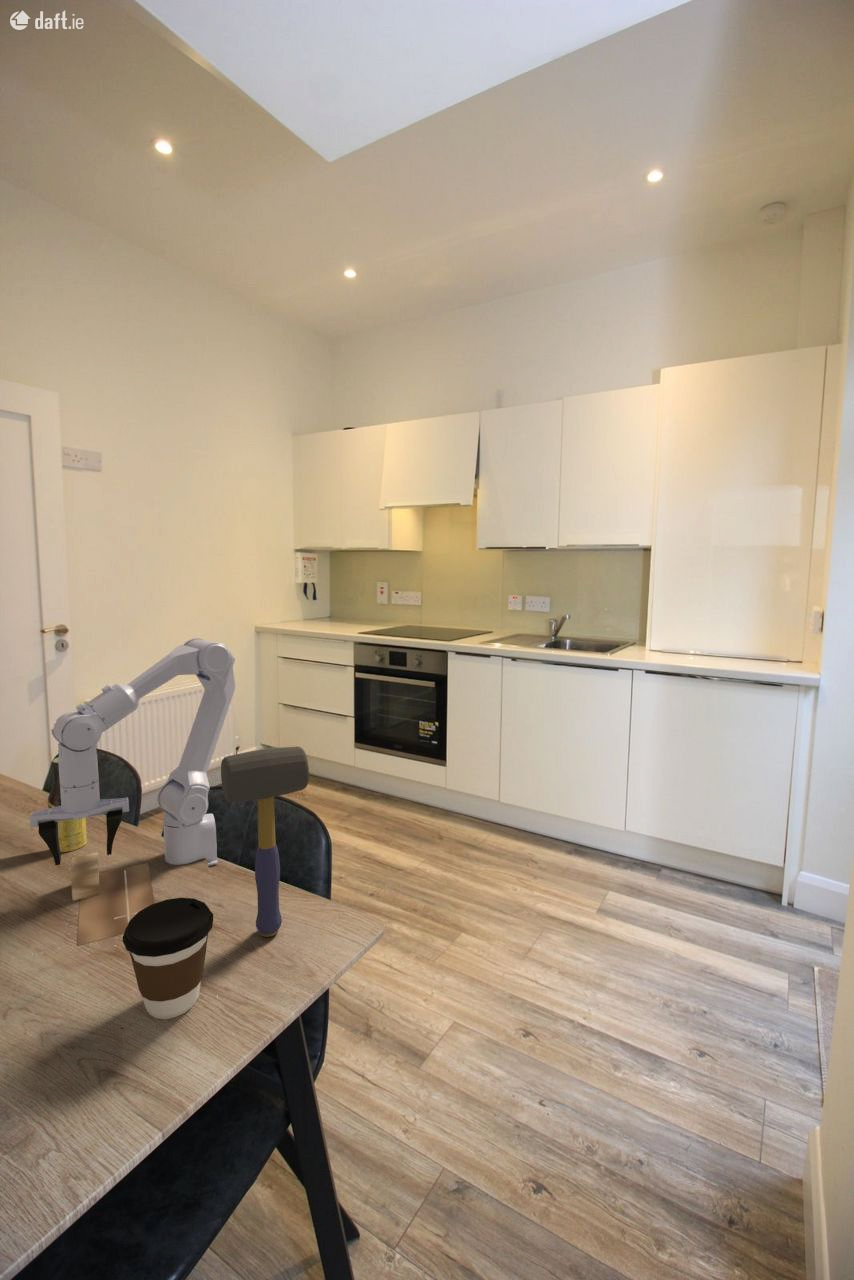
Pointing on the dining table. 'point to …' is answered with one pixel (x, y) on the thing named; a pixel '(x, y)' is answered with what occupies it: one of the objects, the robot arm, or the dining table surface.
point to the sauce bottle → (69, 831)
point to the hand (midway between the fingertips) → (84, 857)
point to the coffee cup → (169, 953)
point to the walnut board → (114, 903)
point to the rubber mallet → (265, 814)
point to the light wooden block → (85, 876)
